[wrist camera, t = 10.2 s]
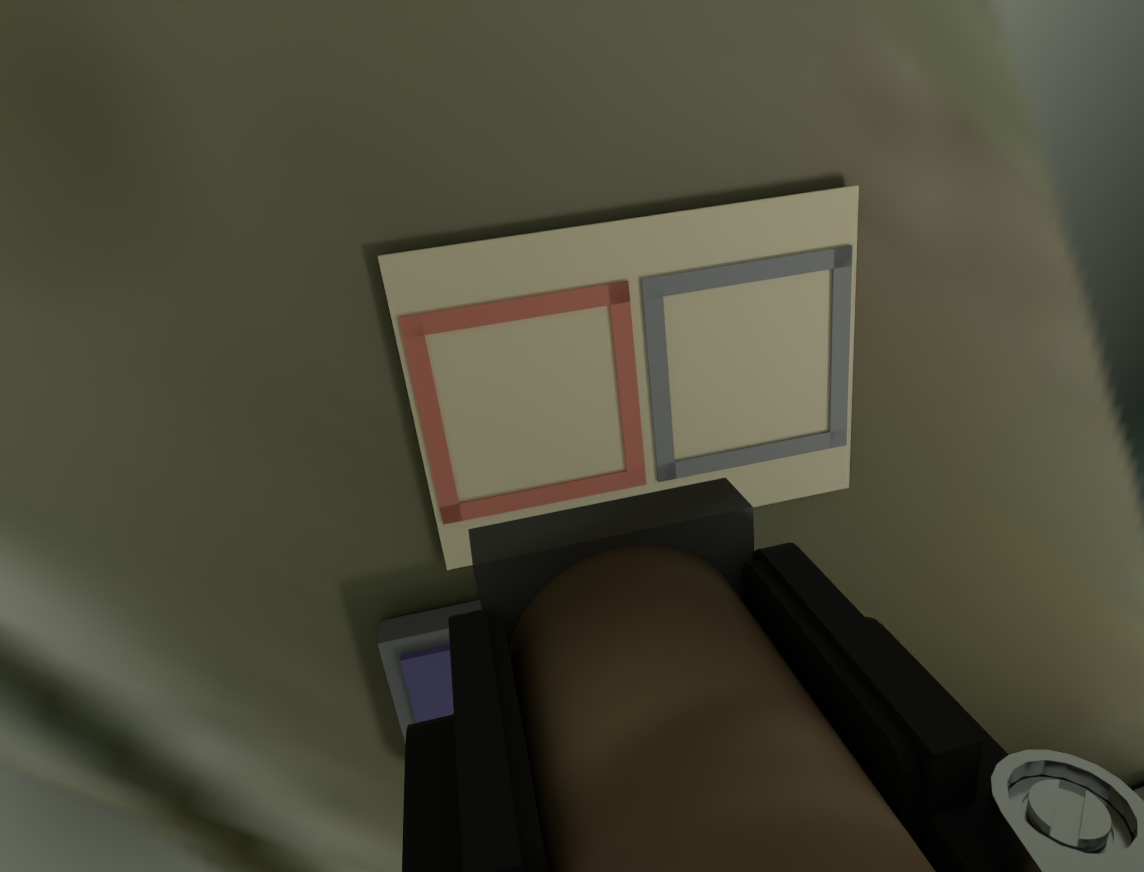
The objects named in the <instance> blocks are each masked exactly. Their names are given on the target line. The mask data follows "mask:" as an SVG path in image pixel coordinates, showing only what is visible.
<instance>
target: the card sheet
mask: <svg viewBox="0 0 1144 872" xmlns="http://www.w3.org/2000/svg"><path fill="white" fill-rule="evenodd" d="M858 196H859V185H853V186H847V187H840V188H833V189H826V190H819V191H813V192H806V193H799V194H792V195H785V196H779V197H772V198H765V199H758V200H751V201H745V202H738V203H731V204H724V205H717V206H711V207H704V208H697V209H690V210H683V211H677V212H670V213H663V214H656V215H649V216H643V217H636V218H629V219H622V220H615V221H609V222H602V223H595V224H588V225H581V226H575V227H568V228H561V229H554V230H547V231H541V232H534V233H527V234H520V235H513V236H507V237H500V238H493V239H486V240H479V241H473V242H466V243H459V244H452V245H445V246H439V247H432V248H425V249H418V250H411V251H405V252H398V253H391V254H384V255H378V260H379V265H380V269H381V274H382V278H383V283H384V287H385V292H386V296H387V301H388V305H389V310H390V314H391V319H392V323H393V328H394V332H395V337H396V341H397V346H398V351H399V355H400V360H401V364H402V369H403V373H404V378H405V382H406V387H407V391H408V396H409V400H410V405H411V409H412V414H413V418H414V423H415V427H416V432H417V436H418V441H419V445H420V450H421V454H422V459H423V464H424V468H425V473H426V477H427V482H428V486H429V491H430V495H431V500H432V504H433V509H434V513H435V518H436V522H437V527H438V531H439V536H440V540H441V545H442V549H443V554H444V558H445V563H446V567H447V570H450V569H455V568H460V567H465V566H470V565H473V564H472V556H471V548H470V539H469V531H468V529H472V528H477V527H482V526H487V525H492V524H497V523H502V522H507V521H512V520H517V519H522V518H527V517H532V516H537V515H542V514H546V513H551V512H556V511H561V510H566V509H571V508H576V507H581V506H586V505H591V504H596V503H601V502H606V501H611V500H616V499H621V498H626V497H631V496H636V495H641V494H646V493H651V492H656V491H661V490H665V489H670V488H675V487H680V486H685V485H690V484H695V483H700V482H705V481H710V480H715V479H720V478H725V477H726V478H727V479H728V480H729V482H730V483H731V484H732V485H733V486H734V487H735V488H736V489H737V490H738V491H739V492H740V493H741V494H742V495H743V497H744V498H745V499H746V500H747V501H748V502H749V503H750V504H751V505H752V506H753V507H757V506H762V505H767V504H772V503H777V502H782V501H787V500H791V499H796V498H801V497H806V496H811V495H816V494H821V493H826V492H830V491H835V490H840V489H845V488H849V471H850V440H851V410H852V379H853V349H854V318H855V288H856V257H857V226H858Z"/></svg>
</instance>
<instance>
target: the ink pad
mask: <svg viewBox="0 0 1144 872" xmlns="http://www.w3.org/2000/svg"><path fill="white" fill-rule="evenodd" d="M481 609H482V608H481V603H480V600H477V601H472V602H467V603H462V604H458V605H453V606H448V607H443V608H439V609H434V610H429V611H425V612H420V613H415V614H410V615H406V616H401V617H396V618H392V619H387V620H382V621H380V622H379V632H378V642H377V645H378V648H379V652H380V655H381V659H382V663H383V666H384V670H385V673H386V677H387V681H388V684H389V688H390V691H391V695H392V698H393V702H394V706H395V709H396V713H397V716H398V720H399V724H400V727H401V731H402V734H403V738H404V742H405V744H406V729H407V727H408V725H410V724H414V723H418V722H422V721H427V720H431V719H435V718H439V717H444V716H448V715H452V714H454V710H453V693H452V675H451V658H450V640H449V623H448V618H449V616H453V615H458V614H462V613H467V612H472V611H476V610H481Z"/></svg>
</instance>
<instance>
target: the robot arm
mask: <svg viewBox="0 0 1144 872" xmlns="http://www.w3.org/2000/svg"><path fill="white" fill-rule="evenodd" d="M743 601H744V604H745V605H746V607H747V608H748V609H749V611H750V612H751V614H752V615H753V616H754V618H755V619H756V621H757V622H758V623H759V625H760V626H761V628H762V629H763V630H764V632H765V633H766V635H767V636H768V637H769V639H770V640H771V642H772V643H773V644H774V646H775V647H776V649H777V650H778V651H779V653H780V654H781V656H782V657H783V658H784V660H785V661H786V663H787V664H788V665H789V667H790V668H791V670H792V671H793V672H794V674H795V675H796V677H797V678H798V679H799V681H800V682H801V684H802V685H803V686H804V688H805V689H806V691H807V692H808V693H809V695H810V696H811V698H812V699H813V700H814V702H815V703H816V705H817V706H818V707H819V709H820V710H821V712H822V713H823V714H824V716H825V717H826V719H827V720H828V721H829V723H830V724H831V726H832V727H833V729H834V730H835V731H836V733H837V734H838V736H839V737H840V738H841V740H842V741H843V743H844V744H845V745H846V747H847V748H848V750H849V751H850V752H851V754H852V755H853V757H854V758H855V759H856V761H857V762H858V764H859V765H860V766H861V768H862V769H863V771H864V772H865V773H866V775H867V776H868V778H869V779H870V780H871V782H872V783H873V785H874V786H875V787H876V789H877V790H878V792H879V793H880V794H881V796H882V797H883V799H884V800H885V801H886V803H887V804H888V806H889V807H890V808H891V810H892V811H893V813H894V814H895V815H896V817H897V818H898V820H899V821H900V822H901V824H902V825H903V827H904V828H905V829H906V831H907V832H908V834H909V835H910V836H911V838H912V839H913V841H914V842H915V843H916V845H917V846H918V848H919V849H920V850H921V852H922V853H923V855H924V856H925V857H926V859H927V860H928V862H929V863H930V864H931V866H932V867H933V869H934V870H935V871H936V872H1144V786H1142V787H1140V788H1138V789H1135V790H1132V789H1130V788H1129V787H1128V786H1127V785H1126V784H1125V783H1124V782H1123V781H1122V780H1120V779H1119V778H1118V777H1116V776H1114V775H1113V774H1111V773H1109V772H1108V771H1106V770H1105V769H1103V768H1101V767H1100V766H1098V765H1096V764H1094V763H1091V762H1089V761H1086V760H1084V759H1081V758H1079V757H1076V756H1074V755H1071V754H1066V753H1061V752H1057V751H1052V750H1024V751H1020V752H1017V753H1013V754H1009V755H1008V754H1007V753H1006V752H1005V751H1004V750H1003V749H1002V747H1001V746H1000V745H999V744H998V743H997V742H996V741H995V740H994V739H993V738H992V737H991V736H990V735H989V734H988V733H987V732H986V731H985V730H984V729H983V728H982V727H981V726H980V725H979V724H978V723H977V722H976V721H975V720H974V719H973V718H972V717H971V716H970V715H969V714H968V713H967V711H966V710H965V709H964V708H963V707H962V706H961V705H960V704H959V703H958V702H957V701H956V700H955V699H954V698H953V697H952V696H951V695H950V694H949V693H948V692H947V691H946V690H945V689H944V688H943V687H942V686H941V685H940V684H939V683H938V682H937V681H936V680H935V679H934V678H933V676H932V675H931V674H930V673H929V672H928V671H927V670H926V669H925V668H924V667H923V666H922V665H921V664H920V663H919V662H918V661H917V660H916V659H915V658H914V657H913V656H912V655H911V654H910V653H909V652H908V651H907V650H906V649H905V648H904V647H903V646H902V645H901V644H900V643H899V641H898V640H897V639H896V638H895V637H894V636H893V635H892V634H891V633H890V632H889V631H888V630H887V629H886V628H885V627H884V626H883V625H882V624H880V623H879V622H878V621H877V620H875V619H873V618H870V617H864V616H863V615H862V614H861V613H860V612H859V611H858V610H857V608H856V607H855V606H854V605H853V604H852V603H851V602H850V601H849V600H848V599H847V598H846V597H845V596H844V595H843V594H842V593H841V592H840V591H839V590H838V588H837V587H836V586H835V585H834V584H833V583H832V582H831V581H830V580H829V579H828V578H827V577H826V576H825V575H824V574H823V573H822V572H821V571H820V570H819V568H818V567H817V566H816V565H815V564H814V563H813V562H812V561H811V560H810V559H809V558H808V557H807V556H806V555H805V554H804V553H803V552H802V551H801V550H800V548H799V547H798V546H796V545H795V544H794V543H785V544H781V545H776V546H771V547H767V548H762V549H758V550H756V551H754V553H753V556H752V561H748V562H745V563H744V565H743ZM448 623H449V640H450V658H451V675H452V693H453V710H454V714H452V715H448V716H444V717H439V718H435V719H431V720H427V721H422V722H418V723H414V724H410V725H408V727H407V729H406V744H405V781H404V818H403V855H402V872H549V871H548V865H547V859H546V854H545V848H544V842H543V837H542V831H541V825H540V820H539V814H538V808H537V803H536V797H535V791H534V786H533V780H532V774H531V769H530V763H529V757H528V752H527V746H526V740H525V735H524V729H523V723H522V718H521V712H520V706H519V701H518V695H517V689H516V684H515V678H514V673H513V667H512V661H511V656H510V651H509V645H508V640H507V635H506V630H505V625H504V619H503V615H502V616H497V617H493V618H488V614H487V610H486V609H481V610H476V611H472V612H467V613H462V614H458V615H453V616H449V618H448Z"/></svg>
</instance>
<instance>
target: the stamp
mask: <svg viewBox="0 0 1144 872" xmlns="http://www.w3.org/2000/svg"><path fill="white" fill-rule="evenodd" d="M468 531H469V539H470V548H471V556H472V564H473V569H474V574H475V579H476V584H477V589H478V594H479V598H480V603H481V608H482V609H486V610H487V614H488V618H493V617H497V616H502V615H503V619H504V625H505V630H506V635H507V640H508V645H509V651H510V656H511V661H512V667H513V673H514V678H515V684H516V689H517V695H518V701H519V706H520V712H521V718H522V723H523V729H524V735H525V740H526V746H527V752H528V757H529V763H530V769H531V774H532V780H533V786H534V791H535V797H536V803H537V808H538V814H539V820H540V825H541V831H542V837H543V842H544V848H545V854H546V859H547V865H548V871H549V872H936V871H935V870H934V869H933V867H932V866H931V864H930V863H929V862H928V860H927V859H926V857H925V856H924V855H923V853H922V852H921V850H920V849H919V848H918V846H917V845H916V843H915V842H914V841H913V839H912V838H911V836H910V835H909V834H908V832H907V831H906V829H905V828H904V827H903V825H902V824H901V822H900V821H899V820H898V818H897V817H896V815H895V814H894V813H893V811H892V810H891V808H890V807H889V806H888V804H887V803H886V801H885V800H884V799H883V797H882V796H881V794H880V793H879V792H878V790H877V789H876V787H875V786H874V785H873V783H872V782H871V780H870V779H869V778H868V776H867V775H866V773H865V772H864V771H863V769H862V768H861V766H860V765H859V764H858V762H857V761H856V759H855V758H854V757H853V755H852V754H851V752H850V751H849V750H848V748H847V747H846V745H845V744H844V743H843V741H842V740H841V738H840V737H839V736H838V734H837V733H836V731H835V730H834V729H833V727H832V726H831V724H830V723H829V721H828V720H827V719H826V717H825V716H824V714H823V713H822V712H821V710H820V709H819V707H818V706H817V705H816V703H815V702H814V700H813V699H812V698H811V696H810V695H809V693H808V692H807V691H806V689H805V688H804V686H803V685H802V684H801V682H800V681H799V679H798V678H797V677H796V675H795V674H794V672H793V671H792V670H791V668H790V667H789V665H788V664H787V663H786V661H785V660H784V658H783V657H782V656H781V654H780V653H779V651H778V650H777V649H776V647H775V646H774V644H773V643H772V642H771V640H770V639H769V637H768V636H767V635H766V633H765V632H764V630H763V629H762V628H761V626H760V625H759V623H758V622H757V621H756V619H755V618H754V616H753V615H752V614H751V612H750V611H749V609H748V608H747V607H746V605H745V604H744V601H743V565H744V563H745V562H748V561H752V556H753V553H754V528H753V506H752V505H751V504H750V503H749V502H748V501H747V500H746V499H745V498H744V497H743V495H742V494H741V493H740V492H739V491H738V490H737V489H736V488H735V487H734V486H733V485H732V484H731V483H730V482H729V480H728V479H727V478H726V477H725V478H720V479H715V480H710V481H705V482H700V483H695V484H690V485H685V486H680V487H675V488H670V489H665V490H661V491H656V492H651V493H646V494H641V495H636V496H631V497H626V498H621V499H616V500H611V501H606V502H601V503H596V504H591V505H586V506H581V507H576V508H571V509H566V510H561V511H556V512H551V513H546V514H542V515H537V516H532V517H527V518H522V519H517V520H512V521H507V522H502V523H497V524H492V525H487V526H482V527H477V528H472V529H468Z"/></svg>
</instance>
